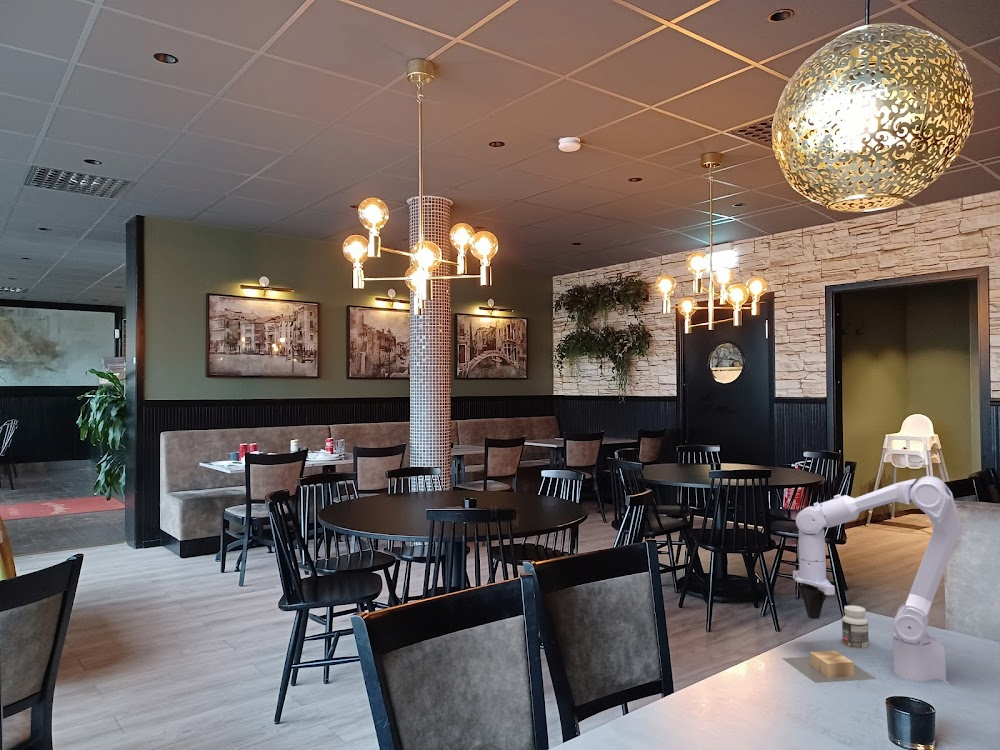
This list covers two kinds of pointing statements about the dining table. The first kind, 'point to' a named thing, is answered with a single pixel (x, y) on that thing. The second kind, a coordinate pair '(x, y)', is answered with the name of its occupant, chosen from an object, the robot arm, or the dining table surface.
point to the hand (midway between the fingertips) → (813, 617)
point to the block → (831, 664)
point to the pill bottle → (855, 627)
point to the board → (805, 668)
